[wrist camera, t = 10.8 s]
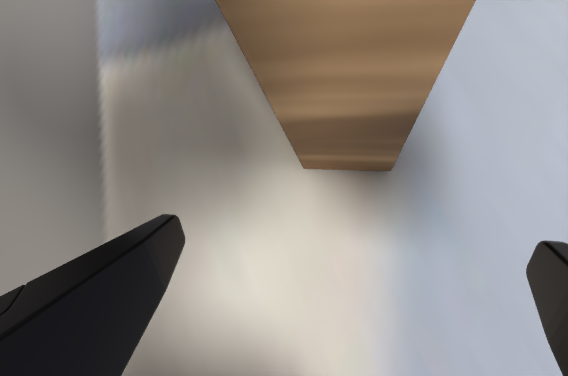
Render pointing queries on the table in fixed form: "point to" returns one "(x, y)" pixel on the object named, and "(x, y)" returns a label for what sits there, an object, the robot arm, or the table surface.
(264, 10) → the panel
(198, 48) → the table surface
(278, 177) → the table surface
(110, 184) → the table surface
